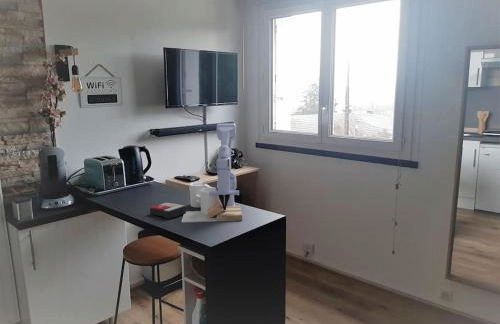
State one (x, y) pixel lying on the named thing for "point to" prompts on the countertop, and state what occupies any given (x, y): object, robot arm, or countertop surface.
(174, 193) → the countertop surface
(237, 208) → the board
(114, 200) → the countertop surface
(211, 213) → the tile
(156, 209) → the red and grey box
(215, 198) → the bracket
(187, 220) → the mat
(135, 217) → the countertop surface
